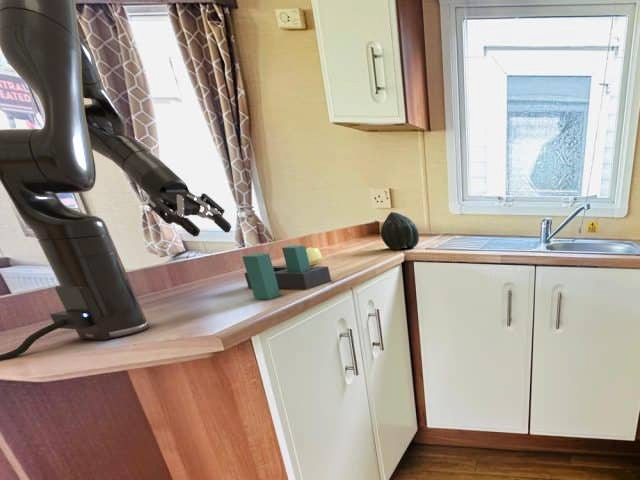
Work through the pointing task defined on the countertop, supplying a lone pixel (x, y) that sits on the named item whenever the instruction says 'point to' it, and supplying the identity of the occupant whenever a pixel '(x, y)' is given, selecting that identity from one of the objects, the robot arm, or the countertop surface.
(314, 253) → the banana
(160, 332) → the countertop surface
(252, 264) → the green block
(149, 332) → the countertop surface
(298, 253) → the block
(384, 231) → the squash
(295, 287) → the mount
